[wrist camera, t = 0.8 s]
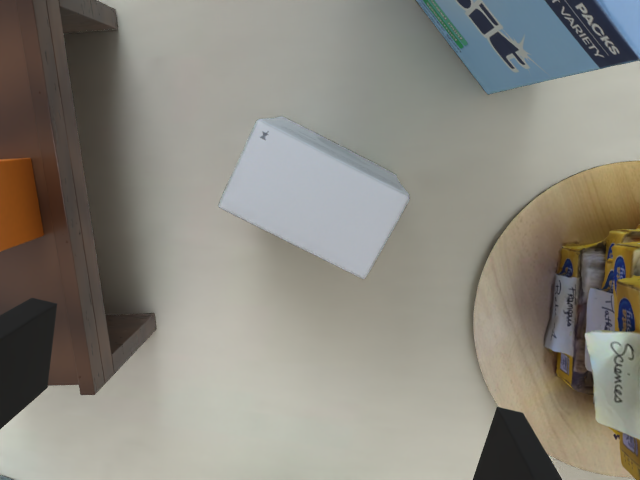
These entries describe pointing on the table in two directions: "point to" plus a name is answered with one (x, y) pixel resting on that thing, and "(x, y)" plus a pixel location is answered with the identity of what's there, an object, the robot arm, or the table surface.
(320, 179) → the cosmetics box
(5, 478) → the grey embossed plant pot
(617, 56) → the gum box
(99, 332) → the wooden bench
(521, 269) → the plate of yellow boxes
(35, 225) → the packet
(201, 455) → the table surface
